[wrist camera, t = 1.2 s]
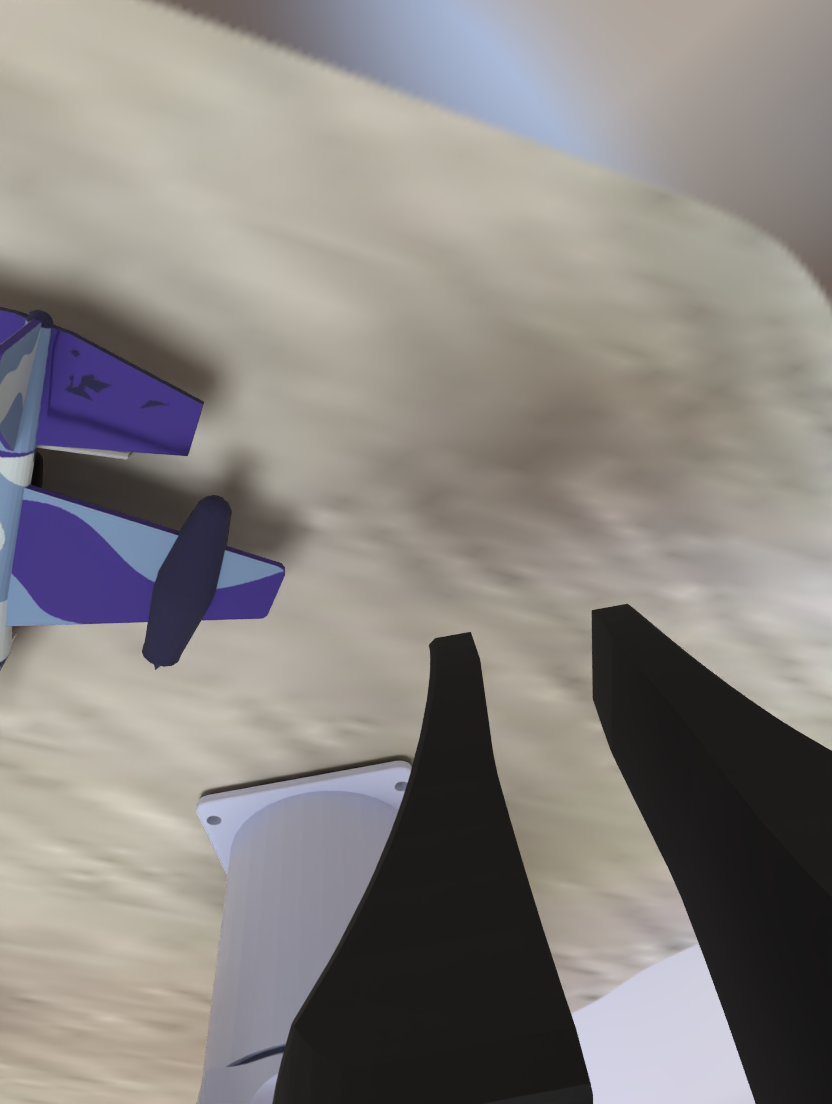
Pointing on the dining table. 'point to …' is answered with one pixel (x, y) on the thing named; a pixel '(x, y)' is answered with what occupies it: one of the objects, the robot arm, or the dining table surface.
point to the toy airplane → (99, 533)
